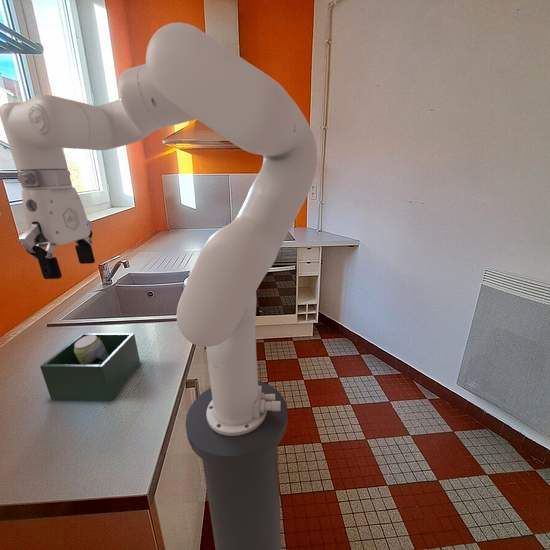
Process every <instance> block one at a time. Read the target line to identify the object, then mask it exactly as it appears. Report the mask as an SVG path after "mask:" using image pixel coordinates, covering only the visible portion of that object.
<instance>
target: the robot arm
mask: <svg viewBox="0 0 550 550" xmlns="http://www.w3.org/2000/svg"><path fill="white" fill-rule="evenodd" d="M117 91H118V96H119V99H116V100H114V101H111V102H107V103H104V104H100V105H94V104H93V105H92V104H88V103H86V102H82V101H77V100H73V99H69V98H64V97H60V96H56V95H50V94H40V95H36V96H34V97H31V98H29V99H26V100H25V101H23V102H22V101H21V102H20V101H19V102H17V101H16V102H6V103H3V104H2V105H0V121H1V123H2V127H3V130H4V134H5V137H6V140H7V143H8V146H9V149H10V152H11V157H12V160H13V162H14V166H15V169H16V172H17V175H18V176H17V181H18V182H19V183H20V185H21V189H22V190H21V197H22V199H21V200H22V208H23V212H24V213H23V214H24V217H25V221H26V225H27V229H26V230H25V231H24V232H23V233H22V234H21V235H20V236H19V237H18V238H17V239H18V243H20V244H21V246H22V247H23V248H24V249H25V251H26V252H27V254H30V256H32V257H33V259H34V260H37V261H38V266H39V268H40V271H41V274H42V277H43V279H45V280H59V279H62V277H63V275H62V272H61V268H60V264H59V261H58V258H57V257H56V256H54V253H55V250H56V246H64V245H68V244H70V243H71V244H72V243H75V244H76V245H74V248H75V252H76V255H77V259H78V262H79V264H81V265H85V264H87V265H88V264H95V262H96V260H95V256H94V251H93V247H92V244H93V240H92V237H93V222H92V221H91V220H89V219H88V217H87V214H86V211H85V207H84V205H83V202H82V200H81V198H80V196H79V193H78V191H77V190H76V187H73V183H72V179H71V175H70V171H69V167H68V163H67V159H66V155H65V151H64V149H72V150H73V149H74V150H75V149H78V150H91V151H108V150H111V149H117V148H120V147H123V146H128V145H131V144H134V143H138V142H139V141H141V140H144V139H145V138H146V137H148V136H150V135H151V134H152V133H153V132H155V131H159V130H161V129H162V130H163V129H166V128H168V127H172V126H177V125H180V124H184V123H187V122H191V121H194V120H197V121H198V122H200V123H202V124H203V125H204V126H206V127H207V128H209V129H210V130H212V131H213V132H215V133H216V134H218V135H219V136H221V137H222V138H224V139H225V140H226V141H228V142H230V143H231V144H233V145H234V146H236V147H238V148H239V149H242V150H243V151H245V152H248V153H250V154H253V155H260V156H262V158H263V161H262V164H261V168H260V171H259V172H258V174H257V175H256V177H255V179H254V180H253V182H252V184H251V186H250V188H249V190H248V193H247V194H246V198H245V199H244V202H243V204H242V206H241V207H240V209H239V212H238V214H237V216H236V217H235V219H233V221H231V222H230V223H229V224H227V225H224V226H223V227H221V228H219V229H218V230H216V231H214V233H213V234H212V235H210V237H209V238H208V239H207V241H206V242H205V243H204V245H203V246H202V248H201V250H200V251H199V254H198V256H197V258H196V261H195V263H194V265H193V268H192V270H191V272H190V274H189V276H188V279H187V281H186V284H185V286H184V288H183V291H182V293H181V295H180V297H179V300H178V303H177V307H176V316H175V317H176V323H177V327H178V329H179V331H180V333H181V335H182V336H183V337H184V338H185V339H186V340H187V341H188V343H191V344H193V345H195V346H198V347H203V348H206V358H207V366H208V375H209V381H210V388H211V391H212V399H213V400H212V401H211V402H210V404H209V405H208V408H207V413H206V416H207V421H208V424H209V426H210V427H211V428H212V429H213V430H214V431H215V432H217V433H219V434H222V435H226V436H239V435H243V434H246V433H249V432H251V431H253V430H254V429H256V428H257V427H258V426H260V424H261V423H262V422H263V421H264V419H265V417H266V414H267V411H280V409H281V402H280V401H275V394H264V393H262V390H261V386H258V381H259V376H258V375H259V374H258V360H257V359H258V358H257V357H258V356H257V335H256V333H257V332H256V319H257V318H256V315H257V290H258V289H259V286H260V285H261V283H262V281H263V280H264V278H265V276H266V275H267V274H268V272H269V271H270V269H272V267H273V265H274V263H275V261H276V259H277V258H278V254H279V252H280V250H281V247H282V245H283V244H284V241H285V239H286V237H287V236H288V234H289V232H290V231H291V228H292V227H293V225H294V223H295V221H296V219H297V216H298V215H299V213H300V211H301V209H302V206H303V205H304V203H305V201H306V199H307V198H308V195H309V193H310V191H311V188H312V187H313V183H314V180H315V177H316V172H317V165H318V149H317V142H316V139H315V136H314V133H313V130H312V128H311V126H310V124H309V122H308V120H307V119H306V116H305V115H304V114H303V112H302V110H301V109H300V107H299V106H298V104H297V103H296V102H295V100H294V99H293V98H292V97H291V96H290V94H289V93H288V91H287V90H286V89H285V88H284V87H283V86H282V85H281V83H279V82H278V81H277V80H275V79H274V78H272V77H271V76H270V75H268V74H266V72H264V71H262V70H261V69H259V68H258V67H256V66H255V65H253V64H251V63H250V62H248V61H247V60H246V59H244V58H242V57H241V56H239V55H238V54H237V53H235V52H234V51H232V50H231V49H228V48H227V47H226V46H224V45H223V44H221V43H220V42H219V41H217V40H215V39H214V38H212V37H211V36H209V35H208V34H207V33H206V32H204V31H202V30H201V29H200V28H198V27H197V26H195V25H193V24H190V23H186V22H179V21H178V22H171V23H168V24H165V25H163V26H161V27H160V28H158V29H157V30H156V31H155V32H154V34H152V36H151V38H150V40H149V41H148V44H147V47H146V52H145V63H142V64H140V65H136V66H133V67H130V68H127V69H125V70H123V71H122V72H121V74H120V75H119V77H118V81H117ZM265 400H269V401H272V402H268V401H265Z"/></svg>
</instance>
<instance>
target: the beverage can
mask: <svg viewBox="0 0 550 550" xmlns="http://www.w3.org/2000/svg"><path fill="white" fill-rule="evenodd" d="M74 346H75V348H74V352H75V354H76V356H77V358H78V360H79V362H80V364H92V365H101V364H102V363H103V362H104V361H105V360H106V359H107V358H108V357H109V355H108V353H107V351H106V349H105V347H104V345H103V343H102V340H101V339H100V338H99V337H97V336H96V335H87V336H84V337H82V338H80V339H79V340H77V341H76V342H75V344H74Z"/></svg>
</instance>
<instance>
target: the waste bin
mask: <svg viewBox="0 0 550 550" xmlns="http://www.w3.org/2000/svg"><path fill="white" fill-rule="evenodd" d="M87 335H96V336H97V337H99V338H100V339H101V340H102V343H103V345H104V347H105V349H106V351H107V353H108V355H109V357H108V358H107V359H106V360H105V361H104V362H103V363H102V364H101V365H92V364H80V362H79V360H78V358H77V356H76V354H75V352H74V348H75V346H74V344H75V342H76V341H77V340H79V339H80V338H82V337H84V336H87ZM140 364H141V360H140V355H139V349H138V345H137V340H136V336H135V333H133V332H131V333H129V332H127V333H126V332H125V333H123V332H120V333H119V332H117V333H116V332H113V333H112V332H111V333H110V332H109V333H107V332H105V333H104V332H103V333H101V332H100V333H98V332H97V333H93V332H92V333H91V332H90V333H88V332H87V333H86V332H85V333H81V334H79V335H78V336H77V337H76V338H74V339H73V340H72V341H70V342H69V343H68V344H67V345H66V346H64V347H63V348H61V349H60V350H59V351H57V352H56V353H55V354H53V355H52V356H51V357H50V358H49V359H48V360H46V361H45V362H43V363H42V364H41V365H40V366H39V367H40V371H41V374H42V376H43V379H44V382H45V386H46V389H47V391H48V394H49V398H50V400H51V401H82V402H83V401H94V402H111V401H112V400H113V399H114V398H115V396H116V395H117V394H118V393H119V392H120V390H121V389H122V387H123V386H124V385H125V384H126V382H127V381H128V380H129V378H130V377H131V376H132V375H133V374H134V372H135V371H136V370H137V368H138V367H139V366H140Z"/></svg>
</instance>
